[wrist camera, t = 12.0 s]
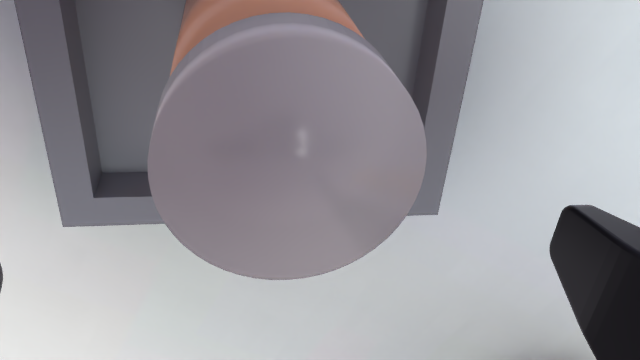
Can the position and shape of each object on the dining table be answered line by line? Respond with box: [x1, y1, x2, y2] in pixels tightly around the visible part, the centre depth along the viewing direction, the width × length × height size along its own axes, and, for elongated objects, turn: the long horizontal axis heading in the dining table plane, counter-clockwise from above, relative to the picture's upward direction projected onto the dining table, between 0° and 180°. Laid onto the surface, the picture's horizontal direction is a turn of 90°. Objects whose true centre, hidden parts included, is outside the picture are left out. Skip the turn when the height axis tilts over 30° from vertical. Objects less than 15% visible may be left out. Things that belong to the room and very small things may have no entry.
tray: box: [14, 0, 484, 227], centre depth 19 cm, size 14×14×2 cm
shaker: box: [147, 0, 427, 280], centre depth 15 cm, size 5×5×10 cm
